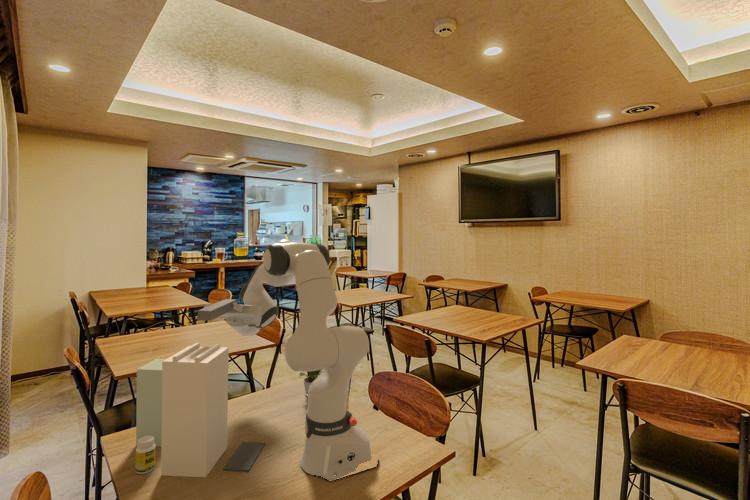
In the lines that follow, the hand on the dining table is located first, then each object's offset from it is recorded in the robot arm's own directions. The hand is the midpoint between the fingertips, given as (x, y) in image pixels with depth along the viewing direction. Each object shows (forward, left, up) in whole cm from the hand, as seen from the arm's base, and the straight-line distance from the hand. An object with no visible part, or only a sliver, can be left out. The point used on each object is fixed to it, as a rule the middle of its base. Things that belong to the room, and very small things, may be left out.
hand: (225, 304), depth 132 cm
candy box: (-39, +6, -41) cm, 57 cm away
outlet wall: (+6, +23, -41) cm, 47 cm away
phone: (-7, +25, -41) cm, 49 cm away
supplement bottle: (+19, +24, -41) cm, 51 cm away
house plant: (-32, -12, -41) cm, 53 cm away
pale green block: (+19, +7, -41) cm, 45 cm away
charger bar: (+2, +6, -2) cm, 6 cm away
